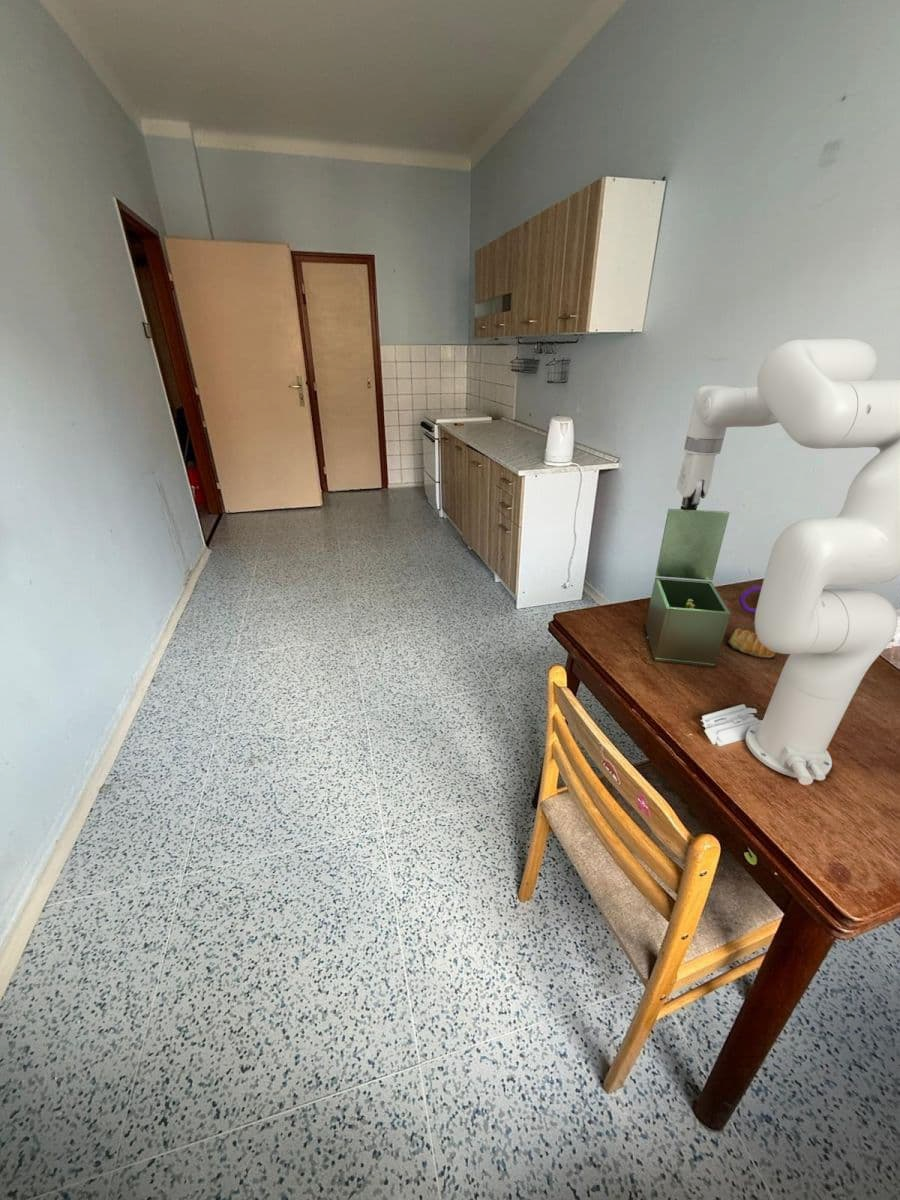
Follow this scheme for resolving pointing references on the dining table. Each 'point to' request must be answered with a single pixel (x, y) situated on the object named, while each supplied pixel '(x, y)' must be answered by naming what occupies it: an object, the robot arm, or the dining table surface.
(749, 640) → the pastry
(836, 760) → the dining table surface
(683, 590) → the trash bin
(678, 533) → the bin lid
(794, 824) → the dining table surface
